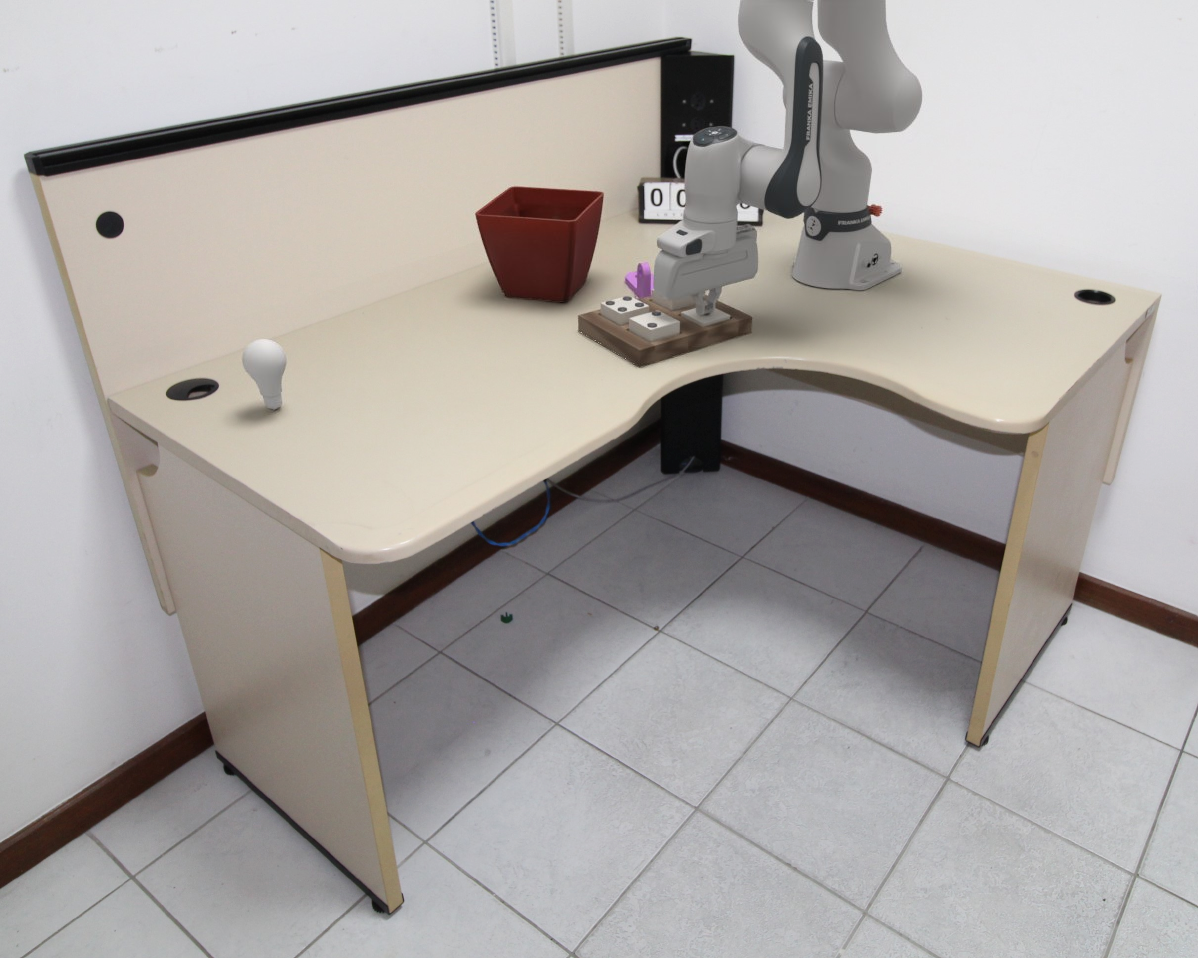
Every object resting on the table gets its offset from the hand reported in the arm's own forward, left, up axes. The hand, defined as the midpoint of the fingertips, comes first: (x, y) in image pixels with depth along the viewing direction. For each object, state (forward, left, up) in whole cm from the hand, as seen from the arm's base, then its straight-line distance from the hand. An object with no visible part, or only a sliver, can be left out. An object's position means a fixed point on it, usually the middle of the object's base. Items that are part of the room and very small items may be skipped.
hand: (705, 312), depth 164 cm
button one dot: (0, 0, -3) cm, 3 cm away
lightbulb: (+70, -15, -4) cm, 72 cm away
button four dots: (+11, -8, -2) cm, 14 cm away
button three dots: (0, -9, -2) cm, 9 cm away
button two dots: (+11, 0, -2) cm, 11 cm away
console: (+5, -4, -4) cm, 8 cm away
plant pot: (+11, -34, -4) cm, 36 cm away
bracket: (-5, -23, -4) cm, 24 cm away
